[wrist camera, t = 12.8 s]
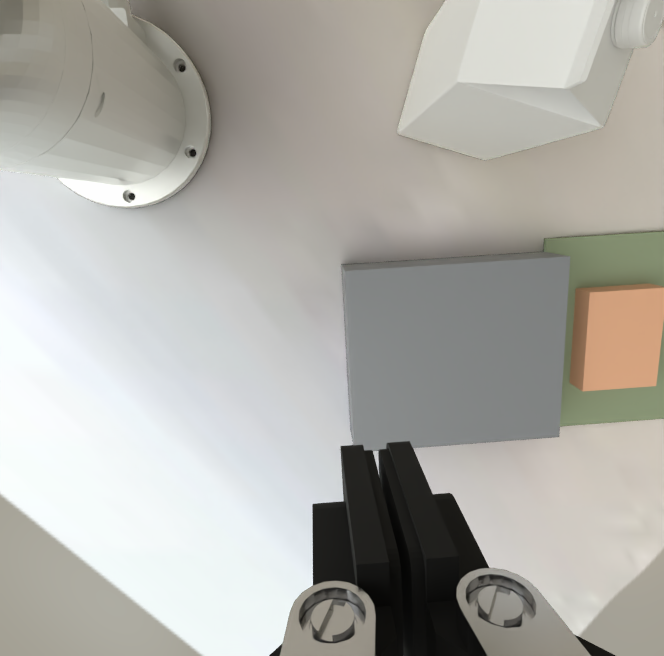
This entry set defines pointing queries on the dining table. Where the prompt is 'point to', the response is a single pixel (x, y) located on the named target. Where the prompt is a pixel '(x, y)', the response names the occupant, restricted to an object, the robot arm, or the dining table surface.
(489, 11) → the milk carton
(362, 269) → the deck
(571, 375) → the tile
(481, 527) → the dining table surface
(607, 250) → the mat
